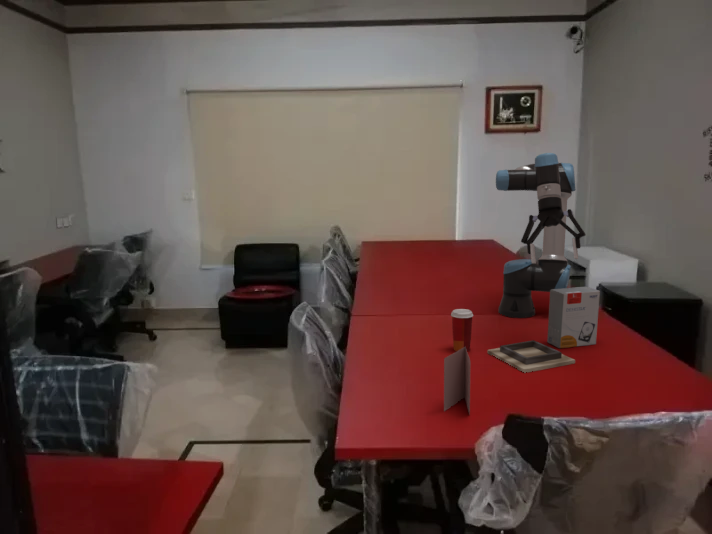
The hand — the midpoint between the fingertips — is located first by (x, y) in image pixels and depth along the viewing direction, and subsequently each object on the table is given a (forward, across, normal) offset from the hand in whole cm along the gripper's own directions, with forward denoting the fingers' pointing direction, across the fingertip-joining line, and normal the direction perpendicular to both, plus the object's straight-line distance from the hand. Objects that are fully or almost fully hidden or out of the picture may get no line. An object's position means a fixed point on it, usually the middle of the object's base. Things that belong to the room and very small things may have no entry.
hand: (554, 261), depth 183 cm
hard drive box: (+27, -2, +24) cm, 36 cm away
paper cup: (+28, -34, 0) cm, 44 cm away
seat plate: (+31, -11, +3) cm, 34 cm away
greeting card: (+44, -18, -41) cm, 63 cm away
